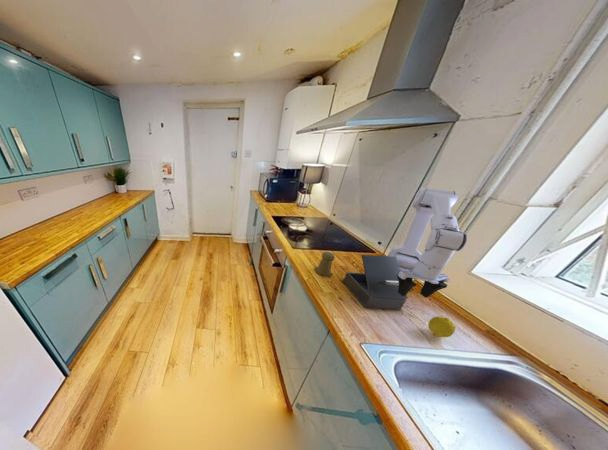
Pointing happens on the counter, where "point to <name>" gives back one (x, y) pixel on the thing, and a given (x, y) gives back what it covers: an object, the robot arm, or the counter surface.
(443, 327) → the lemon
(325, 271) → the dark chess pawn
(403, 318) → the counter surface
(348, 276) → the grey hinged box
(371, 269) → the lid
